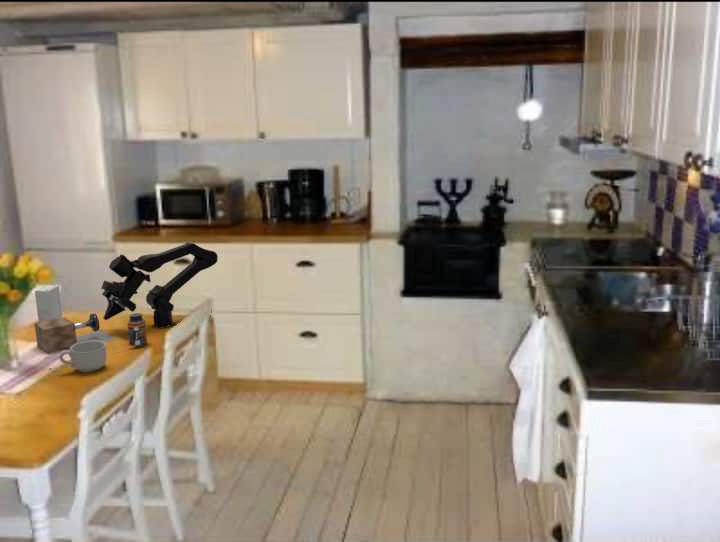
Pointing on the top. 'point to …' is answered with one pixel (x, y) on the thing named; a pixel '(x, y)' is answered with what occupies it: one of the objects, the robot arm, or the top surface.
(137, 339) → the supplement bottle
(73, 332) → the press housing
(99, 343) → the teacup
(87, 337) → the slate board
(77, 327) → the plunger
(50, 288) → the skincare box
